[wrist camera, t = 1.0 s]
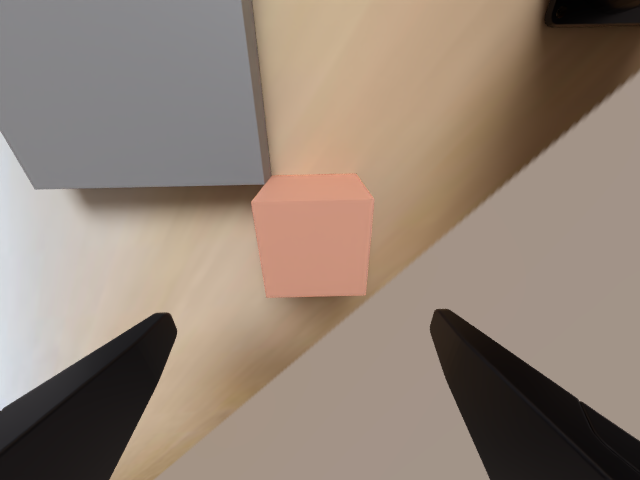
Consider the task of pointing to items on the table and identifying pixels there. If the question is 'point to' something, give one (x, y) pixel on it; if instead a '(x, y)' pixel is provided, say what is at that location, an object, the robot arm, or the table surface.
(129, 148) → the plinth
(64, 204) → the table surface
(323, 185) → the salmon pink cube
